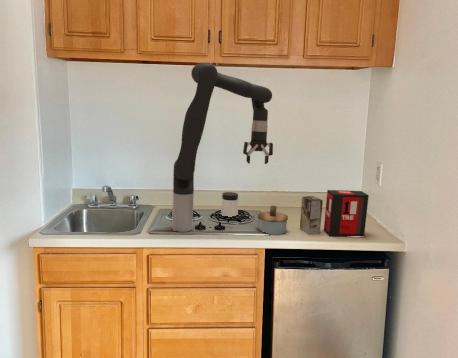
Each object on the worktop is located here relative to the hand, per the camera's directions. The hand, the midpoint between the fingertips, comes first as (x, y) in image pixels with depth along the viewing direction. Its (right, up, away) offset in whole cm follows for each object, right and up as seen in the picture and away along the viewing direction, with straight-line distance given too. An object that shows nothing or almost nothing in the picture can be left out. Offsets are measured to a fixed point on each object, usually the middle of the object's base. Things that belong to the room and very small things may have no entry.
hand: (257, 163), depth 208 cm
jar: (-14, -27, +14) cm, 34 cm away
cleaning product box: (+40, -34, -6) cm, 53 cm away
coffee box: (+25, -33, -4) cm, 41 cm away
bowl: (+7, -32, -6) cm, 33 cm away
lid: (+7, -26, -7) cm, 28 cm away
